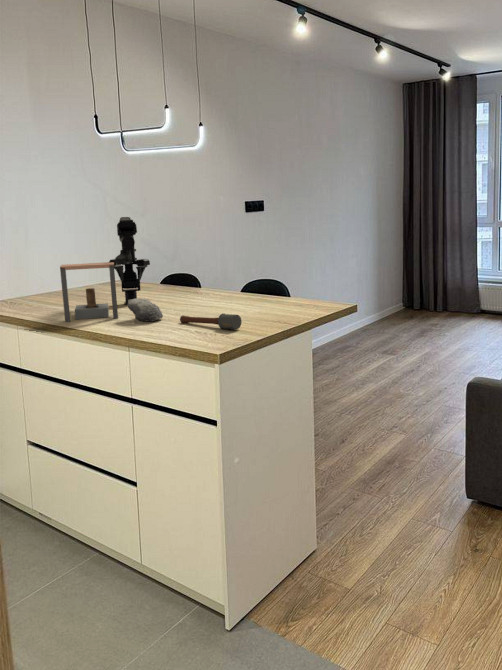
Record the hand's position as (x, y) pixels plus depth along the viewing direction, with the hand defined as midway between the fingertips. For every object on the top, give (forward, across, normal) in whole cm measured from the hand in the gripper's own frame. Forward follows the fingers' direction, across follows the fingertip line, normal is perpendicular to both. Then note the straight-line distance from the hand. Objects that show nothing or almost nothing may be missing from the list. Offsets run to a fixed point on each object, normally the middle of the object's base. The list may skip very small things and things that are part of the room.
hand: (130, 281), depth 293 cm
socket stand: (+13, -7, -22) cm, 26 cm away
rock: (+13, +21, -24) cm, 35 cm away
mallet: (+14, +54, -32) cm, 64 cm away
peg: (+13, -9, -20) cm, 25 cm away
